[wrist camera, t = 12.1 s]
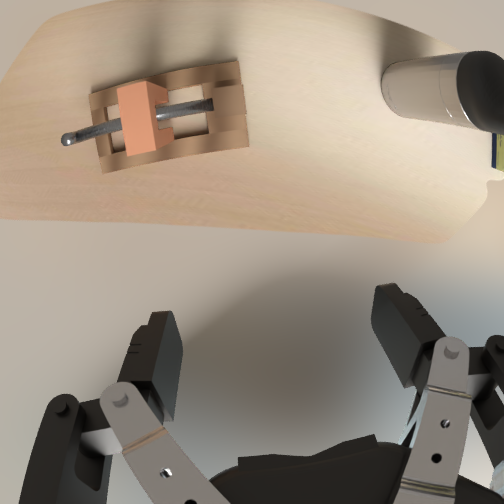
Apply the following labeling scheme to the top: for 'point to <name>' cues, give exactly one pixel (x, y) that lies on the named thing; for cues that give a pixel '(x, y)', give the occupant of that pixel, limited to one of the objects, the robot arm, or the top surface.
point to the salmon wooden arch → (142, 117)
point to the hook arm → (116, 124)
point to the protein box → (498, 152)
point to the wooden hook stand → (219, 138)
